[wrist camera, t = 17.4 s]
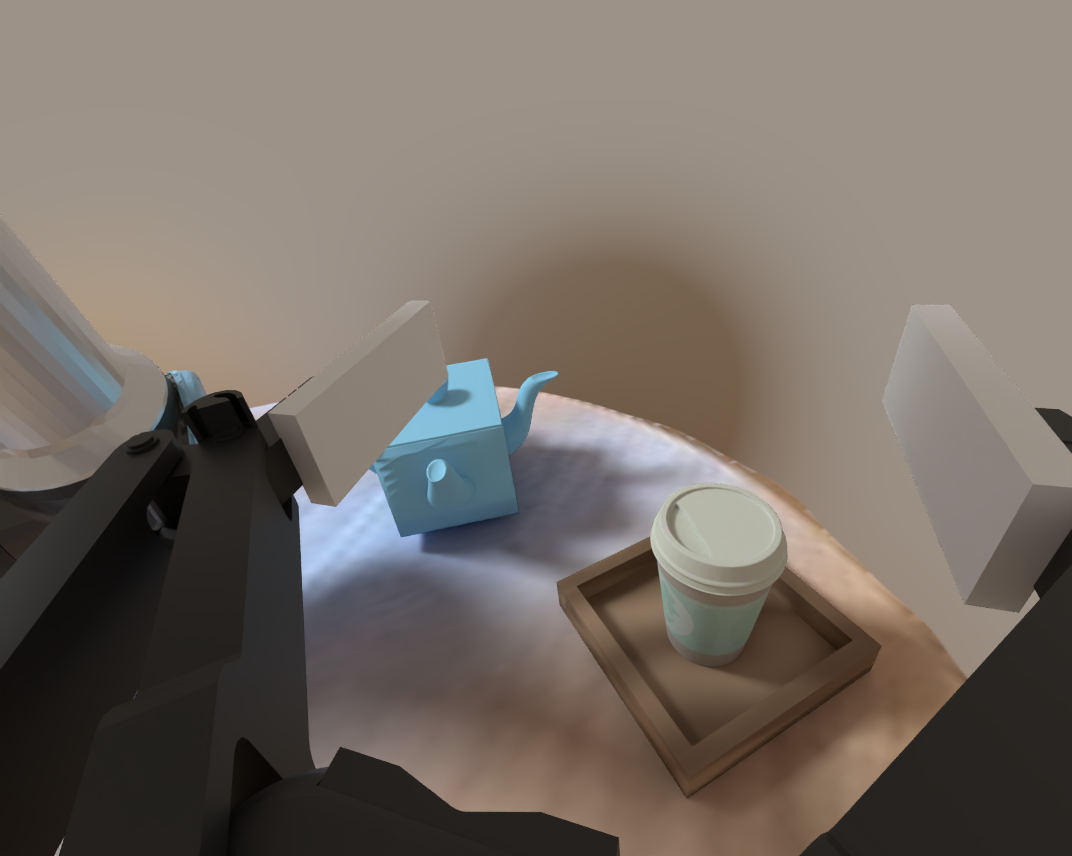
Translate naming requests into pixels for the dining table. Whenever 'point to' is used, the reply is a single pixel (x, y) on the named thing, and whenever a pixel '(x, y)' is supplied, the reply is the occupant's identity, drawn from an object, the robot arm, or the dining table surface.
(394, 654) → the dining table surface
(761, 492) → the dining table surface
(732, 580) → the coffee cup
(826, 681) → the wooden tray
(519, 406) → the teakettle
